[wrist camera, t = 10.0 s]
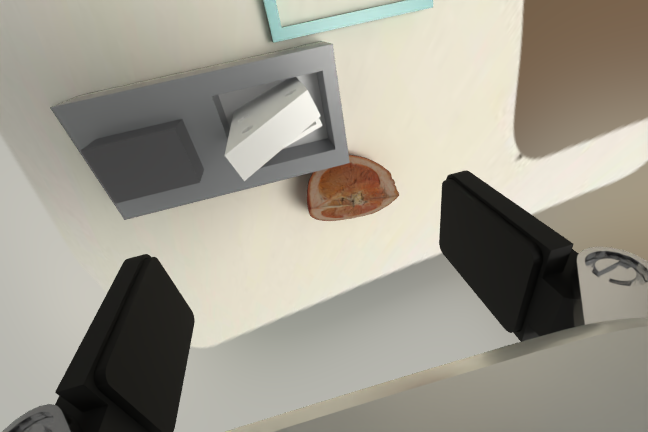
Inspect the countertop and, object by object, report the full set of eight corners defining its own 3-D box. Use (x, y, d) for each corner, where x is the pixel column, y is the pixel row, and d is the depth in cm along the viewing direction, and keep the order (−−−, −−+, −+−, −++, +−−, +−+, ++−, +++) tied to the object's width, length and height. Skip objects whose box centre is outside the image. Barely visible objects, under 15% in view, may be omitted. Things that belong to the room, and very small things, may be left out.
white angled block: (183, 148, 23) (224, 155, 17) (277, 79, 27) (342, 62, 20) (214, 185, 25) (262, 204, 19) (297, 116, 29) (363, 112, 22)
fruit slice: (383, 146, 30) (404, 165, 26) (378, 204, 34) (396, 230, 30) (299, 154, 29) (307, 175, 25) (303, 214, 33) (311, 241, 28)
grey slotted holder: (79, 95, 23) (27, 116, 18) (321, 41, 24) (341, 45, 19) (139, 196, 28) (113, 236, 23) (338, 147, 29) (357, 174, 24)
